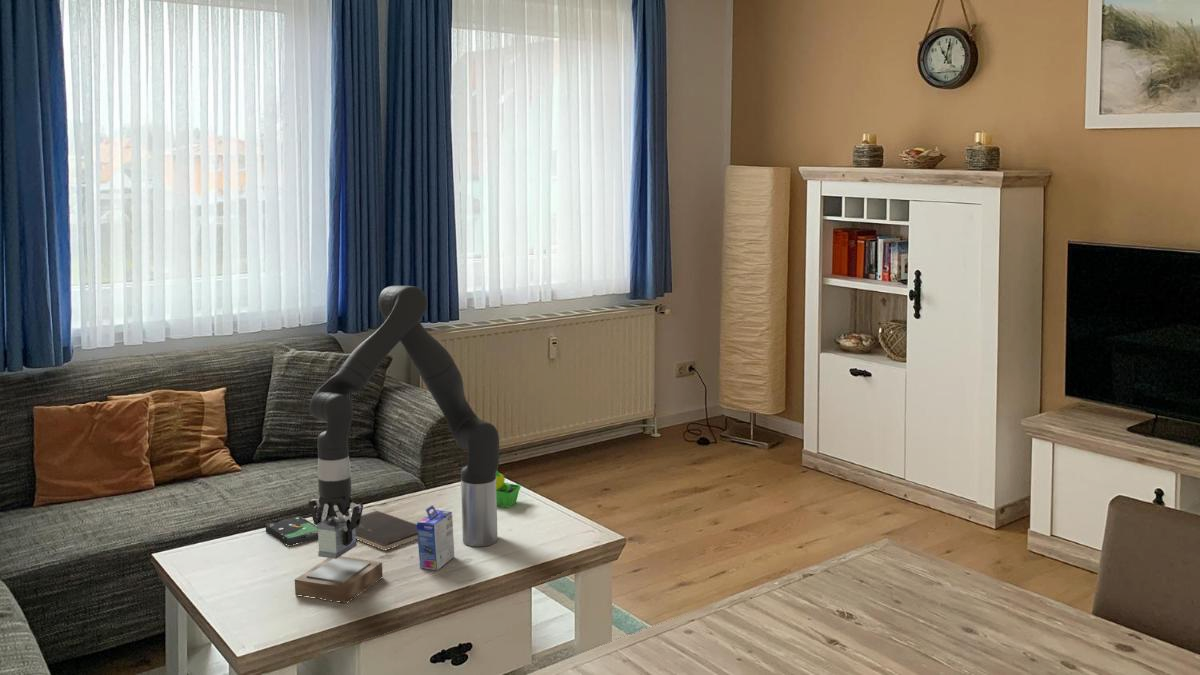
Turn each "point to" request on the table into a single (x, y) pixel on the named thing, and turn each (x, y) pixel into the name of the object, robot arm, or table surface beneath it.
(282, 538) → the disk drive
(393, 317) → the robot arm
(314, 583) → the walnut stand
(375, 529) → the hardcover book
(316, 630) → the table surface
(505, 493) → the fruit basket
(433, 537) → the ink cartridge box
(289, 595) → the table surface
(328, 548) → the box
